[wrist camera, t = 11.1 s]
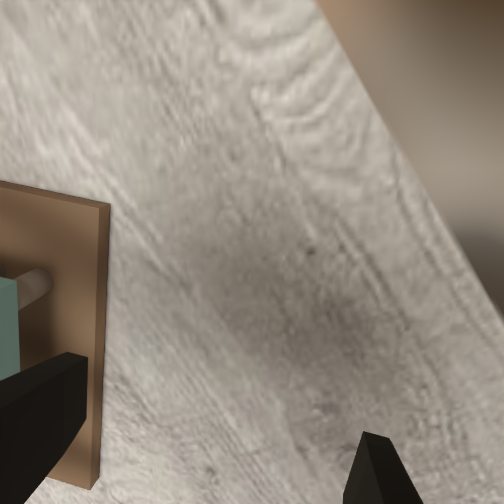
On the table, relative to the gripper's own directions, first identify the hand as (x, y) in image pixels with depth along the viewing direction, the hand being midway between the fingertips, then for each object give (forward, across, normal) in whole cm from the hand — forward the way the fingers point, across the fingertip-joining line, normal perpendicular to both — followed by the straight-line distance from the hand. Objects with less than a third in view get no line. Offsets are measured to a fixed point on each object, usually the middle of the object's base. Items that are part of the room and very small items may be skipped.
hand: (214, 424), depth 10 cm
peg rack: (+10, +13, +7) cm, 18 cm away
